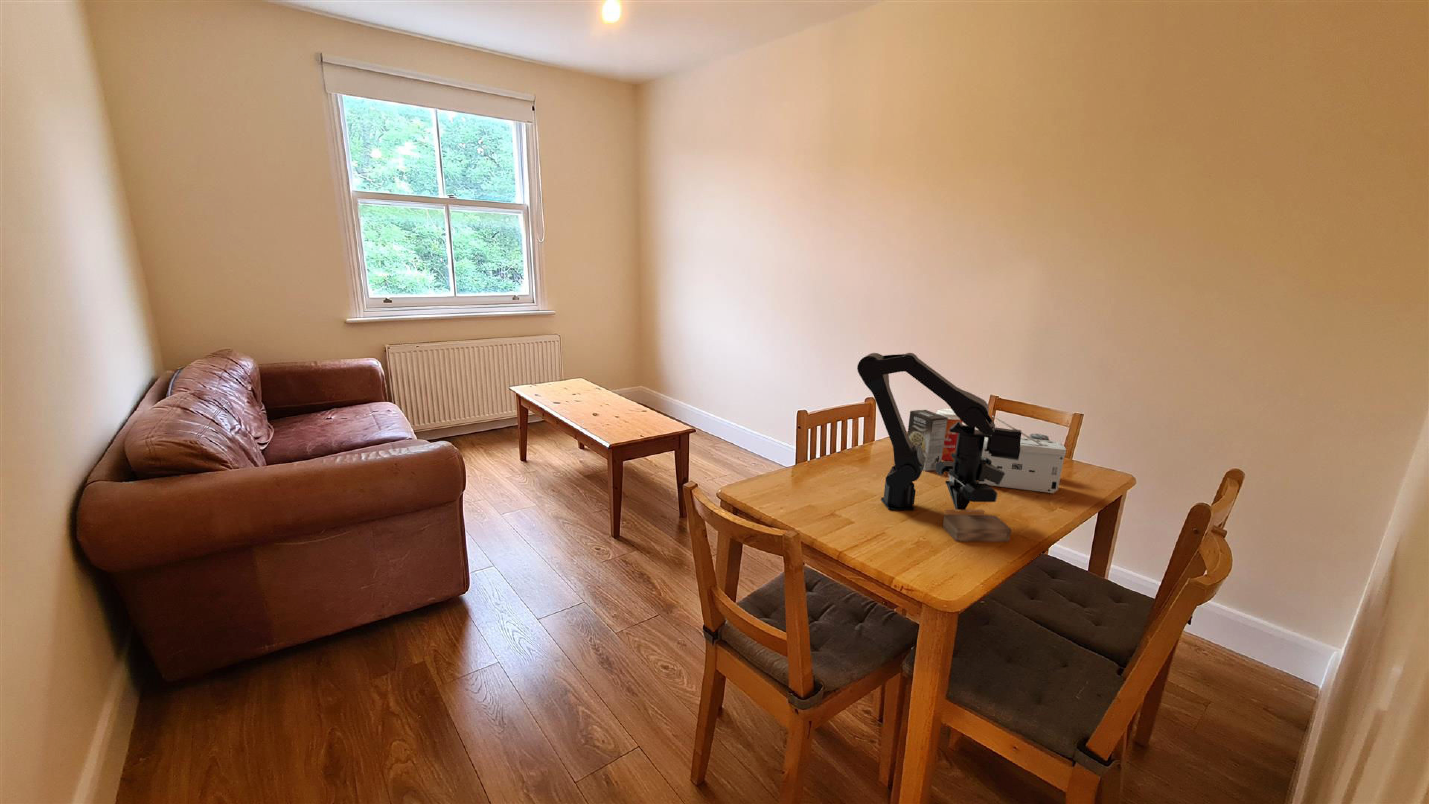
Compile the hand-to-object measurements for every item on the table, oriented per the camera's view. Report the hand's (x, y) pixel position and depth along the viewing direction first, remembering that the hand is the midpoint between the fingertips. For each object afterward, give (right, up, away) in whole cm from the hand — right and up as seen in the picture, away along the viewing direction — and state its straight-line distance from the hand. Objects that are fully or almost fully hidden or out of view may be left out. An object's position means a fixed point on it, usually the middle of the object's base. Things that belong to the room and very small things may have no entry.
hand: (959, 513), depth 136 cm
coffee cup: (+14, +9, +43) cm, 46 cm away
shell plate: (0, -3, -5) cm, 5 cm away
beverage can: (+34, +5, +30) cm, 46 cm away
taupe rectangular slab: (0, -3, -8) cm, 8 cm away
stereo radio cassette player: (+24, +3, +22) cm, 33 cm away
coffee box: (+4, +8, +35) cm, 36 cm away
